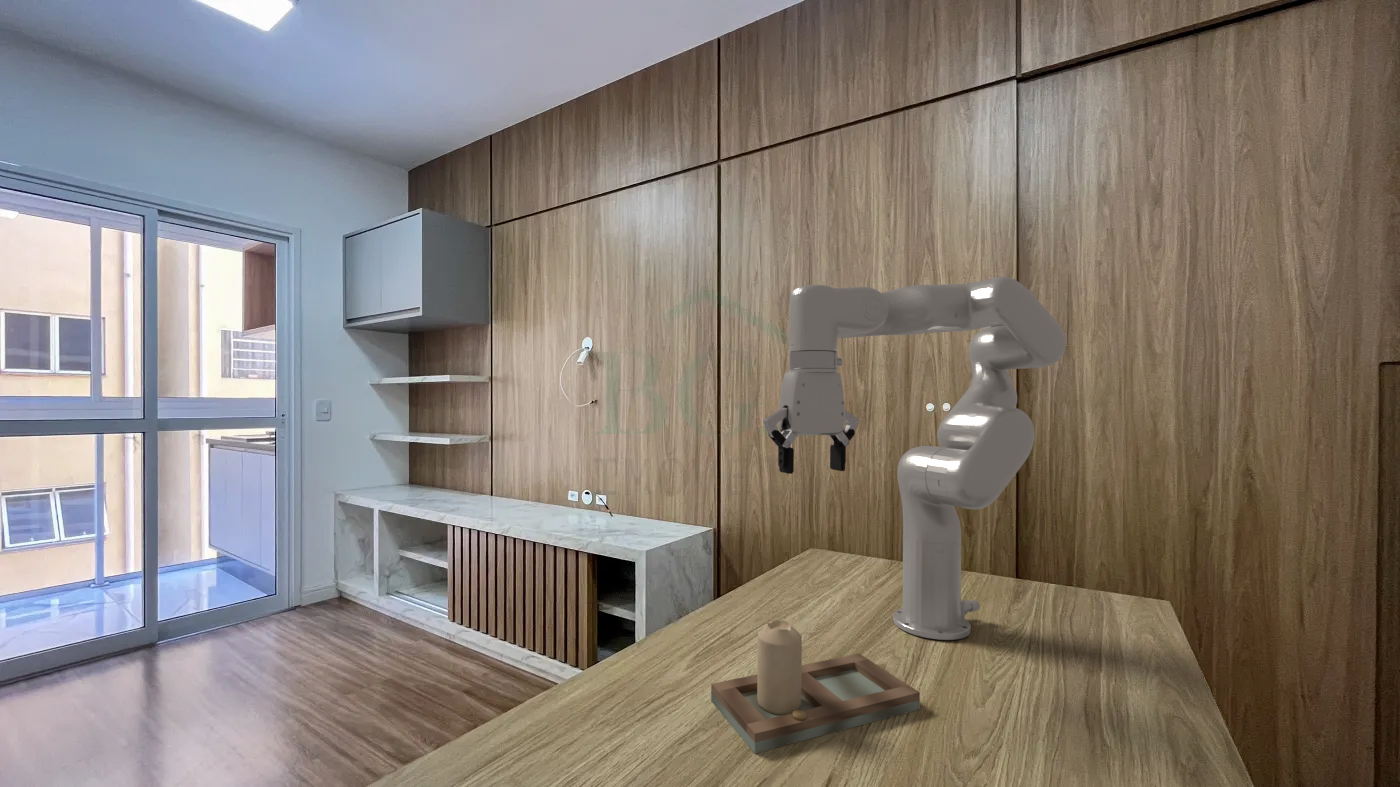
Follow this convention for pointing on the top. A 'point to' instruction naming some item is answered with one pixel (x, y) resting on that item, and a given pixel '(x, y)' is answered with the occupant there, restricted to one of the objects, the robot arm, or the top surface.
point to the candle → (779, 668)
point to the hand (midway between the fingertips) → (812, 471)
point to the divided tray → (816, 702)
